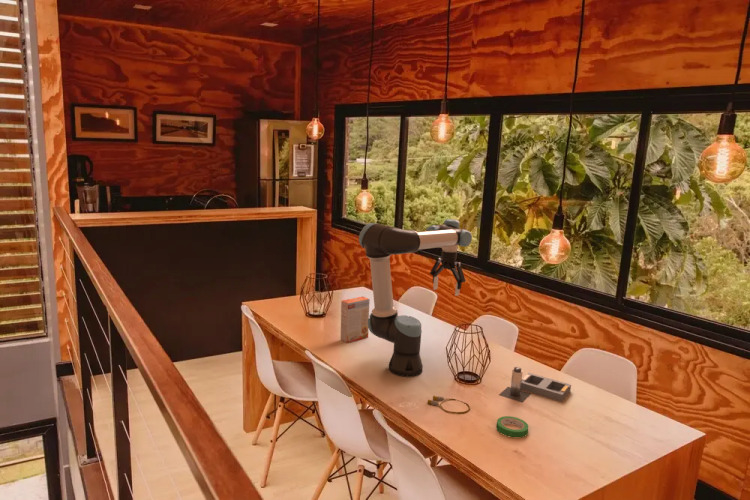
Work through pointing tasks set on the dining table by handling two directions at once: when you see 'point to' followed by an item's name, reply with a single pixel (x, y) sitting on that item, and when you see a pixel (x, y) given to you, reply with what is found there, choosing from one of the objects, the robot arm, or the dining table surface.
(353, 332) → the cracker box
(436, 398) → the looped connector cable
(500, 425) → the tape roll
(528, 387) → the socket block
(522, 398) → the plate
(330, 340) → the dining table surface
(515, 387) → the plug
